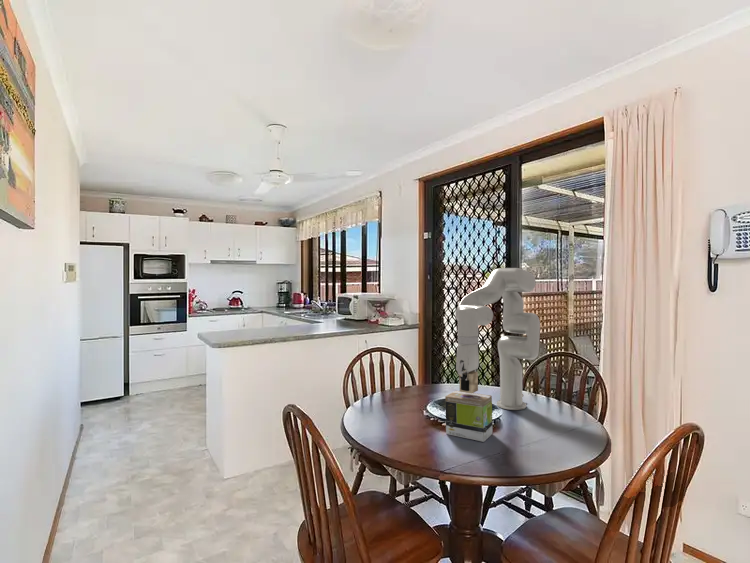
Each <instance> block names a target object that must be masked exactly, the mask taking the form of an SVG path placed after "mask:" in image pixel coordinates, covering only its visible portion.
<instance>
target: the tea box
mask: <svg viewBox="0 0 750 563" xmlns="http://www.w3.org/2000/svg"><path fill="white" fill-rule="evenodd" d="M444 398H445V404H444V406H445V433H446V435H449V436H453V437H459V438H462V439H463V438H464V439H468V440H473V441H474V440H475V441H477V442H480V443H481V442H482V443H484V442H486V441H487V440H488V438H490V437H491V436H492V435H493V399H492V398H493V396H492V395H490V394H482V393H477V392H474V393H472V394H471V393H466V392H461V391H460V390H454V391H452V392H451V393H449V394H447V395H446V396H444Z"/></svg>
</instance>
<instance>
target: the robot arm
mask: <svg viewBox="0 0 750 563" xmlns="http://www.w3.org/2000/svg"><path fill="white" fill-rule="evenodd" d="M535 287H536V278H535V275H534V273H532V272H530V271H528V270H526V269H523V268H519V267H499V268H495V269H494V270H492V271H491V273H490V274H489V276H488V278H487V279H486V280H485V282H484V284H483V285H482V286H481V287H480V288H477V289H476V290H474V291H472V292H470V293H468V294H466V295H465V296H464V297H463V298H462V299H461V301H460V302H459V304H458V305H457V307H456V308H455V309H456V310H455V313H454V316H455V319H456V321H457V348H456V349H457V350H456V360H455V361H456V362H455V364H456V365H455V370H456V371H457V375H458V377H459V376H460V380H461V390H464V391H469V380H468V376H469V372H471V371H474V372H478V368H479V366H480V356H479V355H480V354H479V326H488V325H489V324H490V323H492V321H493V319H494V312H493V310H492V309H491V307H489V305H490V304H494V303H497V302H499V300H500V299H501V298H502V301H503V310H502V329H503V330H504V332H506V333H511V334H520V335H521V334H522V335H526V336H516V335H515V336H514V335H503V336H501V337H499V339H498V340H497V352H498V356H499V357H498V358H499V377H500V378H499V380H500V381H499V385H500V386H499V390H500V391H499V392H500V393H499V394H500V397H499V400H498V401H496V405H497V407H499V408H500V409H504V410H509V411H521V410H524V409H526V408H527V403H526V402H524V401H523V397H524V393H523V366H522V363H521V362H520V360H536V359H537V358H538V355H539V351H540V339H541V338H540V336H541V335H540V333H541V322H540V318H539V316H538V315H537V314H536V313H534V312H524V299H523V298H522V296H521V295H520V293H531V292H532V291H533V290H534V289H535ZM519 359H520V360H519ZM465 370H466V372H465ZM463 373H466V376H465V374H463Z"/></svg>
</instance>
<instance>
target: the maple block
mask: <svg viewBox="0 0 750 563" xmlns="http://www.w3.org/2000/svg"><path fill="white" fill-rule="evenodd" d="M464 371H465V372H466V370H464ZM463 374H465V376H466V373H463ZM458 377H459V382H458V383H459V391H461V392H466V393H471V394H472V393H477V392H478V391H479V380H478V379H479V373H478V371H477V372H474V371H471V372H469V376H468V380H469V391H464V390H461V380H460V376H459V375H458Z"/></svg>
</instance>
